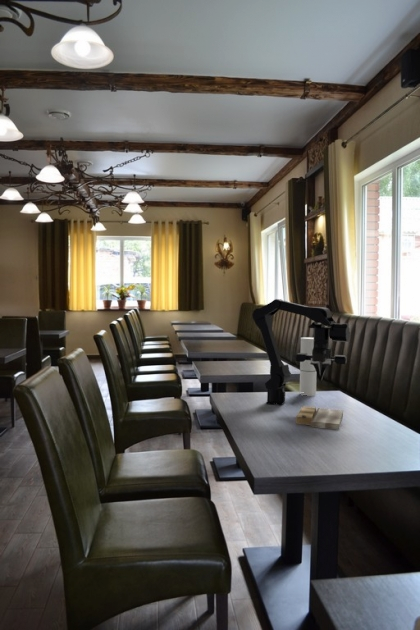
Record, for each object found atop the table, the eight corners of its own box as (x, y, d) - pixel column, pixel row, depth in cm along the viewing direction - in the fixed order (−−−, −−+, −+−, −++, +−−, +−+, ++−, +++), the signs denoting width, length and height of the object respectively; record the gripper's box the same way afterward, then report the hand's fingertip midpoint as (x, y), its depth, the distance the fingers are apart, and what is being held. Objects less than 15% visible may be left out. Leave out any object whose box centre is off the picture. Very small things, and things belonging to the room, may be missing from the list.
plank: (302, 412, 175) (302, 404, 175) (315, 413, 174) (316, 406, 174) (296, 424, 160) (296, 415, 159) (311, 425, 158) (311, 417, 158)
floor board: (311, 426, 157) (311, 421, 157) (317, 412, 176) (318, 407, 175) (339, 429, 154) (339, 423, 154) (342, 415, 173) (343, 410, 173)
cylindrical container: (314, 393, 212) (316, 337, 211) (316, 396, 204) (318, 339, 203) (298, 392, 212) (300, 337, 211) (300, 395, 205) (301, 338, 204)
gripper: (293, 341, 176) (292, 382, 176) (345, 343, 169) (344, 386, 170) (297, 338, 186) (297, 377, 187) (347, 340, 180) (345, 381, 181)
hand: (320, 380), depth 181 cm, fingers closed
